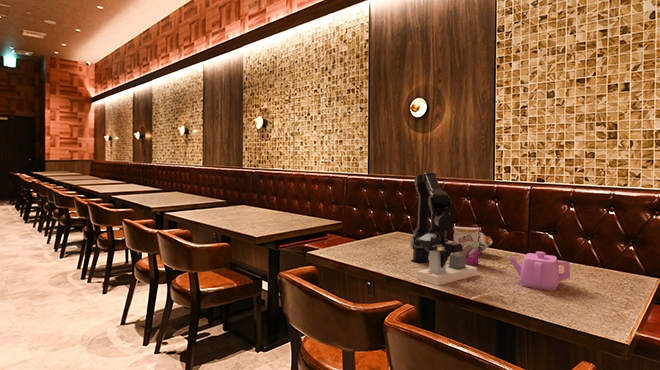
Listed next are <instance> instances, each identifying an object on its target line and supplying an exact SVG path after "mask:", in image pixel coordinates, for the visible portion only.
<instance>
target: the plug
mask: <svg viewBox="0 0 660 370" xmlns="http://www.w3.org/2000/svg"><path fill="white" fill-rule="evenodd" d="M440 250H441V249H438V248H437V250H432V251H430V253H429V262H428V265H429V266H428V269H429V271H430V272H433V273H437V274H438V273H442V272H446V265H447V262H446V263H445V265H444V267H443V268H441V254H440V252H439V251H440Z"/></svg>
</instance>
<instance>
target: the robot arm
mask: <svg viewBox="0 0 660 370" xmlns="http://www.w3.org/2000/svg"><path fill="white" fill-rule="evenodd" d="M414 187H415V190H416V192H417V194H418V207H417V208H418V211H417V226H416V228H414V230H413V235H412V236H411V240H410V248H411V249H412V251H413V252H412V255H413V256H412V259H410V261H411V262H414V263H418V264H426V263H429V253H430V251H432V250H437V249H438V248H441V249H439V250H440V251H439V252H440V254H441V268H443V267H444V265H445V263H446V264H447V261H448V259H449V258H450V255H451V254H453V253H456V252H461V251H463V246H462V244H460V243H455V242H453V241H452V242H449V239H447V232H449V231H451V230H452V229H454V227H455V220H454V218H453V217H452V216H451V215H450V214H451V213H453V210H454V206H453V203H452V199H451V197H450V196H449V194H448V192H447V191H446V190H443V189H442V188H441V185H440V184H439V181H438V179H437V175H436V173H435V172H423V173H422V174H419V175H417V176H416V177H415V178H414ZM429 209H430V213H431V215H430V228H429Z"/></svg>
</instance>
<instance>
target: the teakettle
mask: <svg viewBox="0 0 660 370" xmlns="http://www.w3.org/2000/svg"><path fill="white" fill-rule="evenodd" d="M508 260H509V262H510V263H511V264H512V266H513V268H514V269H515V271H516V272H517V274H518V276H520V278H519V279H520V284H521V286H522V287H526V288H532V289H537V290H544V291H545V290H546V291H551V292H553V291H554V292H555V291H556V290H557V289H558V287H559V285H560V282H562V281H566V280H569V279H571V266H570V265H571V264H570V262H569V261H566V260H559V259H558V258H557V256H555V255H549V254H546V252H544V251H536V252H535V253H532V252H531V253H530V252H528V253H526V254H525V255H524V257H523V259H522V264H521V263H520V262H519V261H518V260H517V259H516V258H515V256H508ZM559 266H563V272H562V273H560V268H559Z"/></svg>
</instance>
